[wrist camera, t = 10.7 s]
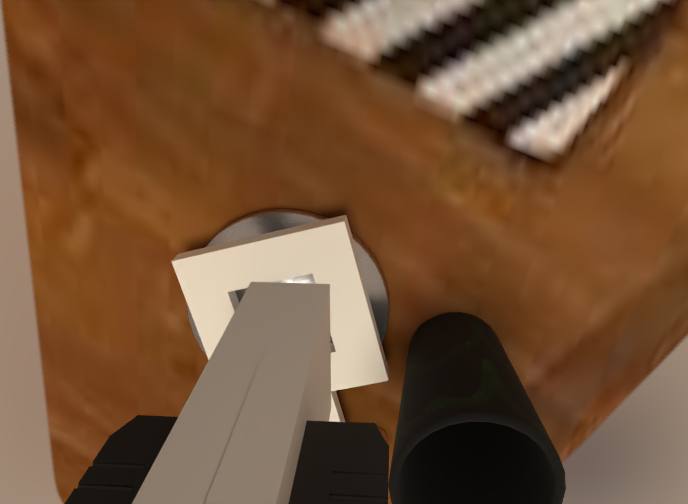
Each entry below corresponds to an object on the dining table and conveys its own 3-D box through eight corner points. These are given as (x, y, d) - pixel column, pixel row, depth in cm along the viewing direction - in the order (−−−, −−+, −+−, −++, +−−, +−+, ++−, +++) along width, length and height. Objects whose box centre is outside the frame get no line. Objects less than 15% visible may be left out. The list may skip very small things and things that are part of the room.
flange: (178, 253, 37) (121, 317, 30) (346, 214, 36) (331, 270, 28) (265, 489, 43) (237, 593, 35) (414, 464, 41) (418, 568, 34)
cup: (426, 424, 42) (437, 577, 30) (368, 329, 40) (357, 456, 28) (539, 376, 40) (594, 521, 29) (484, 274, 38) (520, 387, 27)
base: (152, 299, 40) (87, 376, 32) (284, 165, 36) (250, 213, 28) (293, 422, 42) (267, 524, 34) (430, 308, 39) (439, 391, 30)
